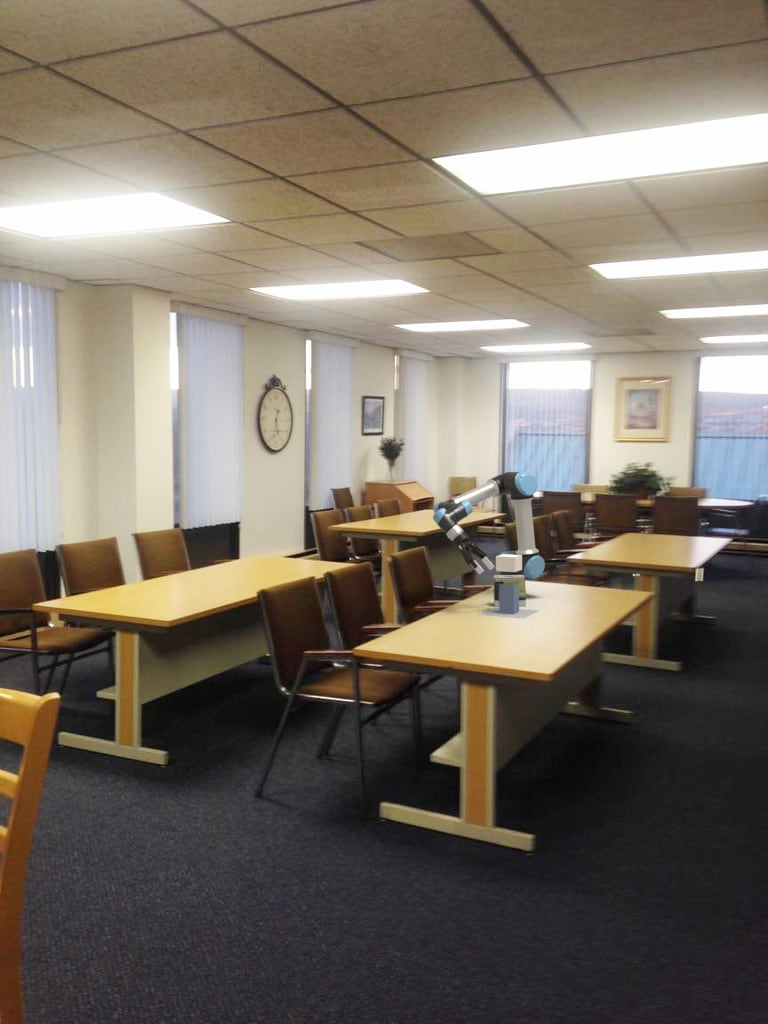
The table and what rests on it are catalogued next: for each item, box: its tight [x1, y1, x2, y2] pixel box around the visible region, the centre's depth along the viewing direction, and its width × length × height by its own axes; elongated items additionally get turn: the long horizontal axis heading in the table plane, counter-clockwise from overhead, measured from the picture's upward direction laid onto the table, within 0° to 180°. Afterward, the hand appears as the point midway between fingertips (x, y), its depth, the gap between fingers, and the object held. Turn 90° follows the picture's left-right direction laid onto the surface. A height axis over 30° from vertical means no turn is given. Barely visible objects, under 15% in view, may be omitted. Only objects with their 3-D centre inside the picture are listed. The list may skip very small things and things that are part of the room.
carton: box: [499, 583, 520, 614], centre depth 394 cm, size 7×7×13 cm
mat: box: [478, 606, 541, 619], centre depth 395 cm, size 22×22×1 cm
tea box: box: [493, 574, 527, 608], centre depth 414 cm, size 15×10×15 cm, turn 84°
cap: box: [495, 554, 522, 572], centre depth 393 cm, size 9×9×7 cm
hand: (487, 570), depth 399 cm, fingers open, 13 cm apart
